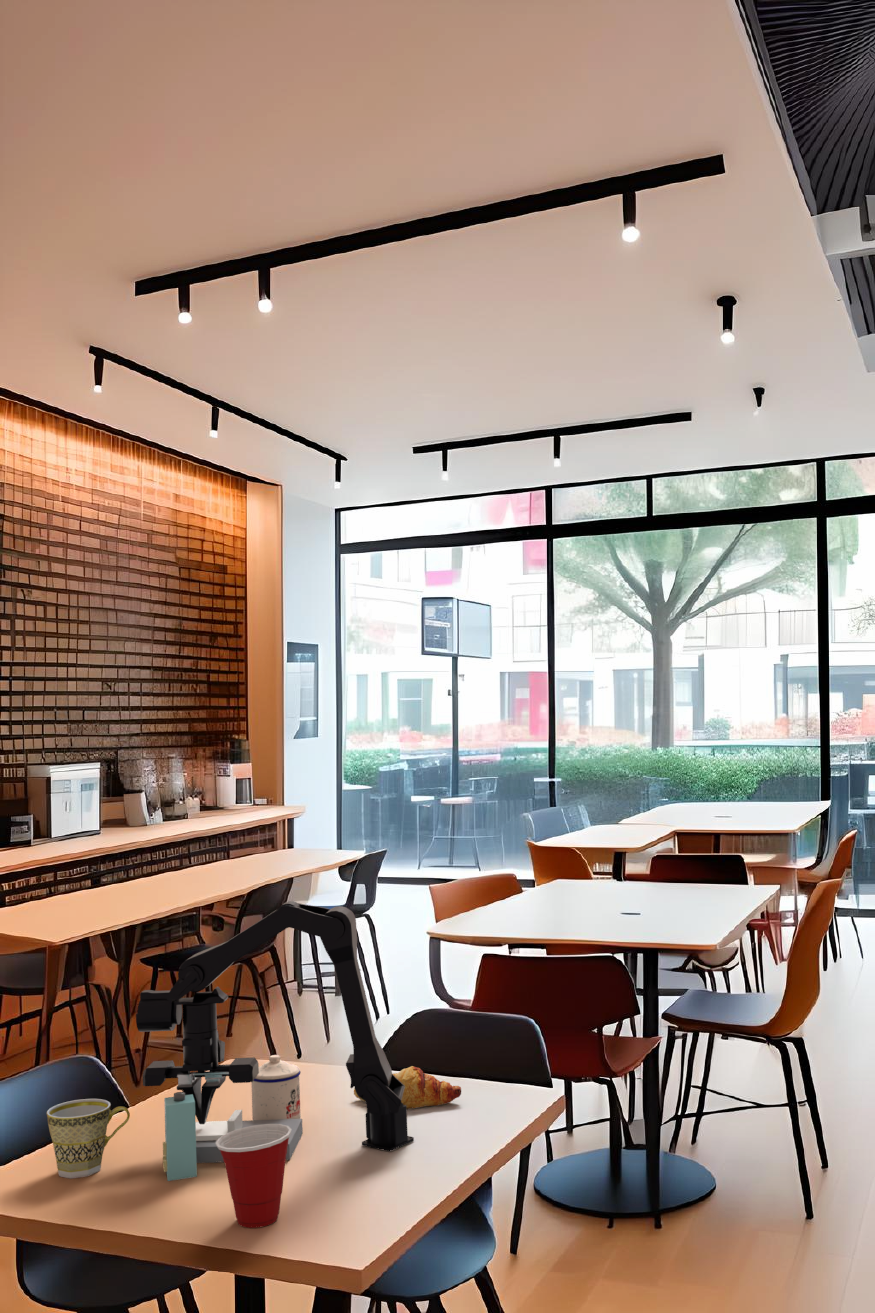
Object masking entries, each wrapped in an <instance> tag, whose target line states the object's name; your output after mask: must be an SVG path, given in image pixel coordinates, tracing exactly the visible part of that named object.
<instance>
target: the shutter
mask: <svg viewBox="0 0 875 1313" xmlns="http://www.w3.org/2000/svg"><path fill="white" fill-rule="evenodd" d="M242 1121H243V1109H235V1110H234V1111H233V1112H232V1114H231V1115H230V1116H229V1118H228V1119H227V1120H213V1121H212V1120H211V1121H206V1123H205V1124H199V1122H198V1121H195V1123H196V1141H213V1140H218V1138H220V1137H221V1136H223V1135H225V1134H227V1133H229V1132H232V1131H235V1130H237V1129H241V1128H242V1127H243V1123H242Z"/></svg>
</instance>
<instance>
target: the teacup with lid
mask: <svg viewBox="0 0 875 1313" xmlns="http://www.w3.org/2000/svg"><path fill="white" fill-rule="evenodd" d="M300 1075H301V1070H300V1067H299V1066H298V1065H296V1064H293V1063H288V1062H287V1061H285V1060H282V1059H281V1056H280V1055H278V1054H273V1055H270V1056H269V1059H268V1061H266V1062H264V1063H263V1064H261V1065H260V1066H259V1073H258V1075H257V1076H256V1078H255V1079H254V1080H253V1082H250V1085H251V1108H252V1109H251V1110H252V1111H251V1112H252V1115H251V1116H252V1120H278V1119H302V1117H301V1116H302V1115H301V1114H302V1113H301V1086H300V1084H301V1083H300Z"/></svg>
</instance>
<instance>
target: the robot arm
mask: <svg viewBox="0 0 875 1313" xmlns="http://www.w3.org/2000/svg"><path fill="white" fill-rule="evenodd" d="M289 928H291V929H294V930H297V931H300V932H302V933H305V934H308V935H311V936H315V937H316V936H317V937H318V938H319V939H320V941H321V943H322V945H323V948H324V950H325V952H326V953H327V955H328V957H329V959H330V961H331V962H332V964H333V966H334V970H335V974H336V978H337V983H338V986H339V991H340V995H341V999H342V1003H343V1004H342V1005H343V1007H344V1012H345V1017H346V1021H347V1026H348V1029H349V1034H350V1039H351V1041H352V1042H351V1043H352V1045H353V1046H352V1047H353V1048H352V1049H353V1053H352V1054H351V1053H350V1054H349V1056H348V1058H347V1061H346V1062H345V1067H346V1069H347V1072H348V1075H349V1077H350V1085H349V1086H350V1089H354V1088H355V1091H356V1093H357V1095H358V1096H359V1097H360V1098H362V1099H363V1100H365V1101H364V1102H365V1103H366V1104H365V1105H366V1113H365V1114H364V1115H365V1133H366V1134H365V1135H366V1139H365V1140H363V1141H361V1146H364V1147H368V1148H372V1149H377V1150H382V1151H385V1152H393V1151H395V1150H397V1149H398V1148H399V1149H400V1148H401V1147H403V1146H405V1145H407V1144H409V1143H412V1142H414V1140H415V1137H413V1136H410V1135H408V1114H407V1112H408V1109H406V1105H403V1103H402V1102H401V1100H402V1096H403V1093H404V1089H405V1085H404V1084H403V1083H401V1082H400V1081H399V1080H398V1079H397V1078H396V1077H395V1076H394V1075H393V1074H394V1073H393V1070H392V1067H391V1065H390V1063H389V1061H388V1060H389V1059H387V1055H386V1053H385V1051H384V1050H383V1048H382V1046H381V1044H380V1043H379V1041H378V1039H377V1037H376V1036H377V1035H376V1034H375V1033H376V1032H375V1029H374V1024H373V1021H372V1020H373V1019H372V1016H371V1011H370V1008H369V1004H368V1003H369V1002H368V999H367V995H366V989H365V986H364V983H363V982H364V980H363V977H362V973H361V968H360V965H359V961H358V931H357V919H356V916H355V914H354V912H353V911H352V910H351V909H350V908H348V907H345V906H342V905H341V906H340V905H339V906H334V907H332V908H327V907H324V906H323V907H322V906H319V905H318V906H317V905H311V904H304V903H300V902H297V901H295V900H288V901H287V902H284V903H283V904H281V905H280V906H279V907H278V908H277V909H276V910H274V911H272V912H271V913H270V914H268V915H266V916H265V917H263V918H261V919H260V920H259V921H257V922H255V923H254V924H252V925H251V926H249V927H247V928H246V929H244V930H242V931H241V932H240V933H238V934H237V935H235V936H234V937H232V938H230V939H229V940H227V941H225V942H222V943H220V944H217V945H214V946H211V947H209V948H206V949H204V950H201V951H199V952H196V953H195V954H193V955H192V956H190V957H189V958H187V959H185V960H184V961H183V962H182V963H181V964H180V966H179V968H178V973H177V977H178V979H177V980H176V982H175V983H174V984H173V986H172V987H171V988H170V989H169V990H167V989H166V990H152V989H144V990H143V991H140V994H139V997H140V998H139V999H140V1000H139V1002H138V1006H137V1012H136V1013H135V1014H136V1015H135V1023H136V1028H137V1030H138V1032H140V1033H145V1032H147V1033H148V1032H149V1033H150V1032H169V1031H174V1030H175V1028H176V1026H177V1025H180V1024H181V1022H182V1037H183V1038H182V1040H181V1047H182V1048H183V1049H182V1053H183V1064H182V1065H177V1066H175V1062H174V1060H173V1059H172V1060H154V1061H152V1062H151V1063H150V1064H149V1065H148V1066H147V1067H146V1068H145V1069H144V1070H143V1072H142V1086H143V1087H158V1086H159V1087H161V1086H162V1085H163V1083H164V1082H165V1081H166V1079H177V1085H176V1090H177V1091H181V1092H185V1095H191V1094H193V1097H194V1100H195V1118H196V1120H197V1122H199V1124H205V1123H206V1122H207V1120H208V1119H207V1118H208V1116H209V1112H210V1108H211V1106H212V1101H213V1098H214V1095H215V1092H216V1091H217V1089H220V1088H221V1087H222V1085H223V1084H224V1083H225V1082H226V1080H227V1077H228V1079H229V1080H230V1082H232V1083H233V1084H238V1083H239V1084H242V1083H244V1084H245V1083H246V1084H247V1083H251V1082H253V1080H254V1079H255V1078H256V1076H257V1075H258V1073H259V1067H260V1066H259V1065H260V1064H259V1061H258V1059H257V1058H256V1057H254V1056H253V1057H235V1058H234V1059H233V1060H232V1062H231V1063H230V1064H219V1063H222V1062H224V1061H225V1052H226V1051H225V1050H226V1049H225V1048H226V1042H225V1041H223V1040H220V1038H219V1030H218V1018H217V1016H218V1015H217V1011H218V1010H217V1004H223V1003H225V1001H227V1000H228V999H229V995H228V994H227V993H226V992H224V991H223V990H222V989H221V988H220V986H216V987H215V988H213V990H212V991H204V990H205V989H206V988H207V987H208V986H210V985H211V984H212V983H213V982H214V981H216V979H217V978H219V977H220V976H221V975H222V974H223V973H224V972H225V971H226V970H228V968H230V966H232V965H233V964H234V963H235V962H236V961H238V960H239V959H241V958H243V957H244V956H245V955H247V954H249V953H250V952H252V951H253V950H255V949H257V948H258V947H260V946H261V945H262V944H264V943H266V942H268V941H269V940H271V939H272V938H274V937H276V936H277V935H279V934H280V933H282V932H283V931H284V930H287V929H289ZM190 992H192V993H194V995H193V996H192V997H185V996H186V995H188V994H189V993H190ZM202 1078H204V1080H205V1081H204V1083H203V1084H202Z"/></svg>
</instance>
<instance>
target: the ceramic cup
mask: <svg viewBox="0 0 875 1313" xmlns="http://www.w3.org/2000/svg"><path fill="white" fill-rule="evenodd" d="M111 1105H112V1104H111V1102H110V1101H108V1100H106V1099H101V1098H85V1099H83V1098H82V1099H74V1100H70V1101H66V1102H62V1103H59V1104H55V1105H54V1106H51V1107H50V1108H49V1109H48V1110H47V1111H46V1118H47V1125H48V1130H49V1134H50V1137H51V1141H52V1145H53V1146H52V1147H53V1151H54V1156H55V1161H56V1162H55V1163H56V1168H57V1173H58V1176H59V1177H62V1178H65V1179H77V1178H78V1179H79V1178H85V1177H89V1176H91V1175H94V1174H96V1173H98V1172H100V1171H101V1170H102V1169H101V1168H102V1161H103V1154H104V1151H105V1147H107V1145H108V1142H109V1141H110V1140H111V1139H112V1138H113V1137H114V1136H115V1135H116V1133H117V1132H118V1131H119V1130H121V1129H122V1127H124V1126H125V1125H126V1124H127V1123H128V1122H129V1119H130V1111H129V1109H128V1108H127V1107H125V1106H116V1107H114V1108H113V1109H112V1110H111ZM119 1111H120V1112H121V1111H125V1112H126V1114H127V1116H126V1119H125V1120H124V1121H123V1122H122V1123H121V1124H120V1125H118V1127H116V1128H115V1129H114V1131H113V1132H112V1133H111V1134H110V1135H109V1136H108V1135H107V1130H108V1125H109V1123H110V1122H111V1120H112V1118H113V1117H114V1115H115V1114H116V1113H118V1112H119Z"/></svg>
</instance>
